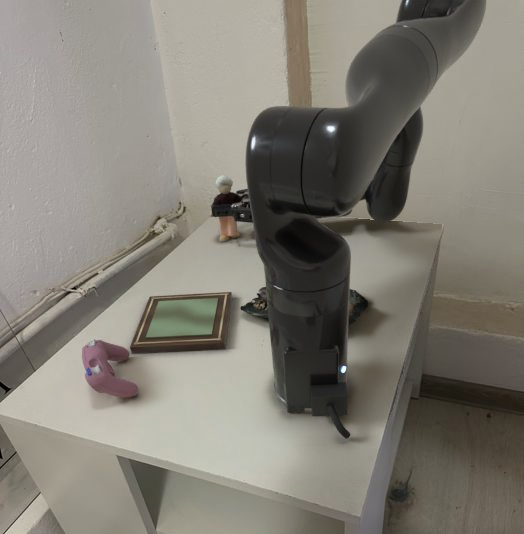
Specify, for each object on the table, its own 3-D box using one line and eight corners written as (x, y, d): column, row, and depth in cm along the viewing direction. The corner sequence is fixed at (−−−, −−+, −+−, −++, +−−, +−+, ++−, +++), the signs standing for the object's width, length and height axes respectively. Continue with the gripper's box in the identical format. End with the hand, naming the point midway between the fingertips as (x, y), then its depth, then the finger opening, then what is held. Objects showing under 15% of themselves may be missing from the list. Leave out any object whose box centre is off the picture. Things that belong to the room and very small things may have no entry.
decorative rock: (226, 305, 72) (264, 253, 82) (234, 336, 76) (270, 283, 86) (350, 319, 65) (375, 259, 75) (352, 352, 69) (376, 292, 79)
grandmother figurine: (221, 245, 98) (212, 183, 90) (211, 239, 100) (201, 178, 92) (251, 233, 101) (245, 171, 93) (240, 227, 103) (233, 167, 96)
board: (225, 349, 71) (223, 341, 70) (131, 353, 72) (129, 346, 71) (232, 297, 82) (231, 290, 81) (151, 302, 83) (149, 295, 82)
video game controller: (107, 369, 72) (72, 342, 67) (131, 351, 71) (97, 322, 67) (116, 413, 64) (76, 386, 60) (143, 393, 64) (105, 364, 59)
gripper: (297, 170, 99) (214, 176, 100) (299, 195, 88) (206, 202, 89) (298, 205, 103) (219, 211, 105) (301, 234, 92) (212, 240, 93)
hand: (213, 207), depth 97 cm, fingers closed on grandmother figurine, 3 cm apart
